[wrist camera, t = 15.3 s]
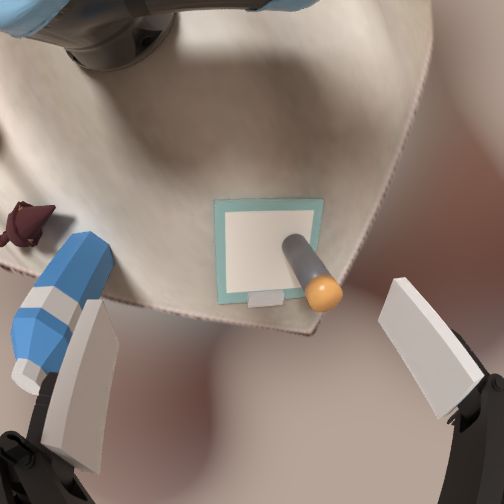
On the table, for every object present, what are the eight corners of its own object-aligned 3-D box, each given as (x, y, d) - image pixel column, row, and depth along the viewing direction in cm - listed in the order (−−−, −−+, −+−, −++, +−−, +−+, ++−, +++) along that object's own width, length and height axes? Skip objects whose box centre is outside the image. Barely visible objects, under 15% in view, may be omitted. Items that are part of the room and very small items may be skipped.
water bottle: (92, 220, 37) (10, 344, 15) (125, 266, 41) (83, 404, 20) (55, 246, 37) (-19, 361, 16) (87, 287, 42) (40, 411, 21)
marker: (281, 233, 41) (312, 286, 30) (308, 232, 42) (345, 282, 31) (280, 258, 44) (307, 314, 33) (305, 255, 44) (338, 309, 33)
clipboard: (213, 200, 38) (214, 205, 37) (321, 198, 41) (327, 203, 39) (217, 301, 48) (218, 309, 46) (306, 294, 50) (310, 302, 48)
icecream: (31, 185, 26) (-16, 224, 28) (48, 238, 28) (-2, 267, 30) (61, 179, 33) (10, 215, 34) (75, 225, 35) (23, 253, 36)
